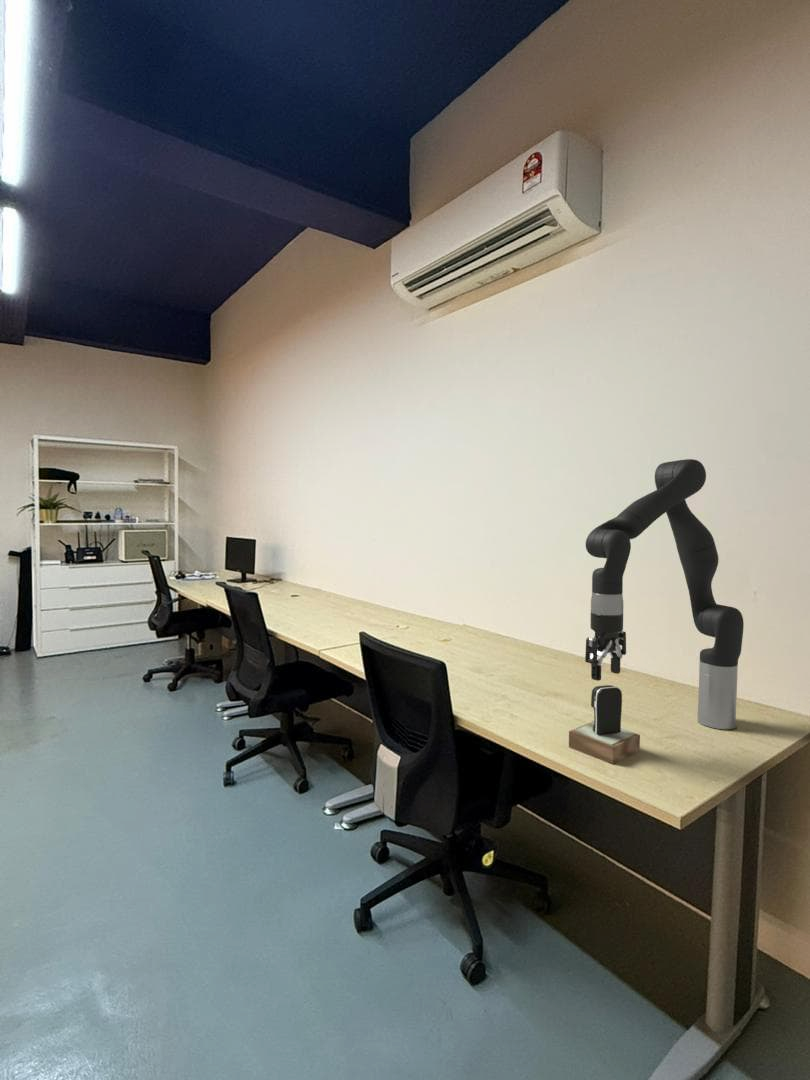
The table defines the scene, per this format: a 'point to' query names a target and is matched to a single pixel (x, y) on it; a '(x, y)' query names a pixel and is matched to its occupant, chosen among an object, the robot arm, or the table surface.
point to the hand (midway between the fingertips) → (605, 676)
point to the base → (604, 743)
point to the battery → (606, 709)
